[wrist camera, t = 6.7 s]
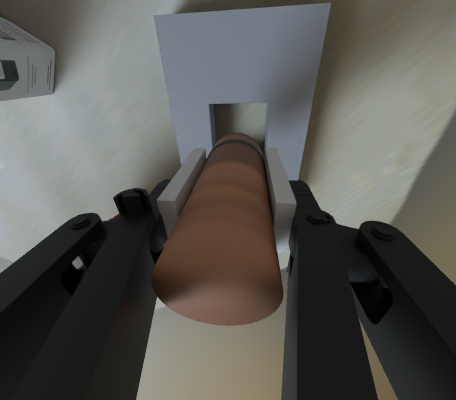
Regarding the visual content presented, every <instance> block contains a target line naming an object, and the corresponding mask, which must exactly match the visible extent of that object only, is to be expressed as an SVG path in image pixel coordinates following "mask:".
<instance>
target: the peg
mask: <svg viewBox="0 0 456 400" xmlns="http://www.w3.org/2000/svg"><path fill="white" fill-rule="evenodd" d="M151 284H152V288H153V290H154V292H155V294H156V295H157V297H158V298H159V299H160V300H161V301H162V302H163V303H164V304H165V305H166V306H167V307H169V308H170V309H172V310H173V311H175V312H177V313H179V314H181V315H183V316H185V317H188V318H190V319H193V320H196V321H199V322H204V323H208V324H214V325H227V326H229V325H244V324H249V323H253V322H257V321H260V320H262V319H264V318H266V317H268V316H270V315H271V314H272V313H274V312H275V311H276V310H277V309H278V307H279V306H280V304H281V302H282V299H283V286H282V280H281V274H280V267H279V260H278V254H277V247H276V241H275V234H274V228H273V221H272V215H271V208H270V202H269V195H268V189H267V182H266V176H265V164H264V159H263V156H262V151H261V148H260V146H259V145H258V143H257V142H256V141H255V140H254V139H253V138H251V137H250V136H248V135H245V134H242V133H231V134H228V135H225V136H223V137H222V138H220V139H219V140H218V141H217V142H216V143H215V145H214V147H213V149H212V150H211V152H210V153H209V155H208V157H207V160H206V163H205V165H204V167H203V169H202V171H201V173H200V175H199V177H198V179H197V181H196V183H195V185H194V187H193V189H192V191H191V193H190V196H189V198H188V200H187V202H186V204H185V206H184V208H183V210H182V212H181V214H180V216H179V218H178V220H177V222H176V224H175V226H174V228H173V230H172V232H171V234H170V236H169V238H168V240H167V242H166V244H165V246H164V248H163V250H162V252H161V255H160V257H159V259H158V261H157V263H156V265H155V267H154V269H153V271H152V274H151Z"/></svg>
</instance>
